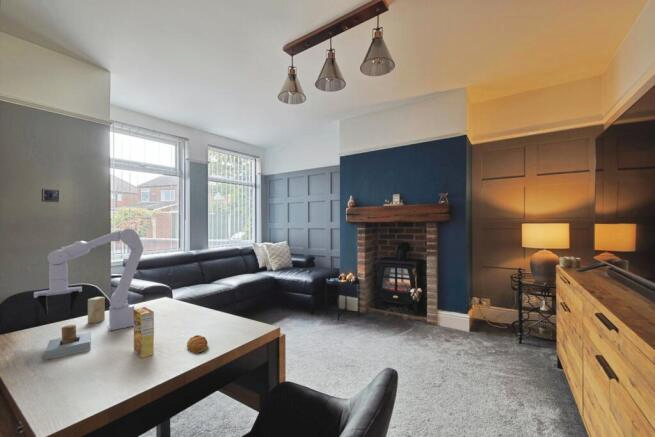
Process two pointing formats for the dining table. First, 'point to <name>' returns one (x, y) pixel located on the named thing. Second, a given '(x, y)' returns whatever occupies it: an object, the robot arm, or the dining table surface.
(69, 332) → the peg
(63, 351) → the socket block
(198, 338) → the pastry
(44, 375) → the dining table surface
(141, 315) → the candy box
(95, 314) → the box
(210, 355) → the dining table surface
